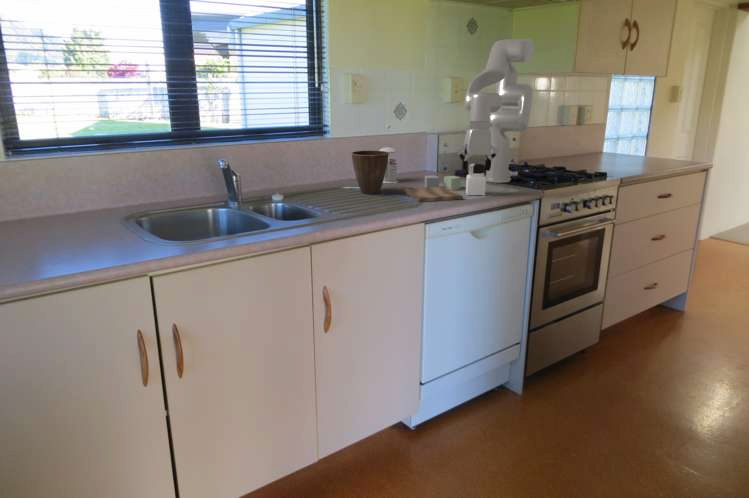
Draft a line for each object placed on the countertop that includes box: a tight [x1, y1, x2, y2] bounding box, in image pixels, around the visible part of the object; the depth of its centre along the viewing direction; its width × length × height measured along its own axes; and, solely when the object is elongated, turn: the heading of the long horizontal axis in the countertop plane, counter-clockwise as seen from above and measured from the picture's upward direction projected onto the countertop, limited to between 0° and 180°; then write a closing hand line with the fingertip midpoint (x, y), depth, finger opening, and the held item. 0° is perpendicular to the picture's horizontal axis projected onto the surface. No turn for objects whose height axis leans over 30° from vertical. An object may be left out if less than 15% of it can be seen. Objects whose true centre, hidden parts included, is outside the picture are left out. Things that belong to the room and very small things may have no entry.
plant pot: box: [351, 150, 390, 195], centre depth 211 cm, size 15×15×16 cm
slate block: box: [424, 175, 440, 188], centre depth 220 cm, size 5×5×5 cm
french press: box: [378, 124, 399, 184], centre depth 230 cm, size 10×12×25 cm
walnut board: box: [403, 186, 464, 203], centre depth 207 cm, size 18×18×2 cm
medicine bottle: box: [465, 163, 487, 197], centre depth 209 cm, size 7×7×12 cm
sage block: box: [443, 175, 462, 191], centre depth 220 cm, size 5×5×5 cm
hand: (476, 170), depth 207 cm, fingers open, 9 cm apart
